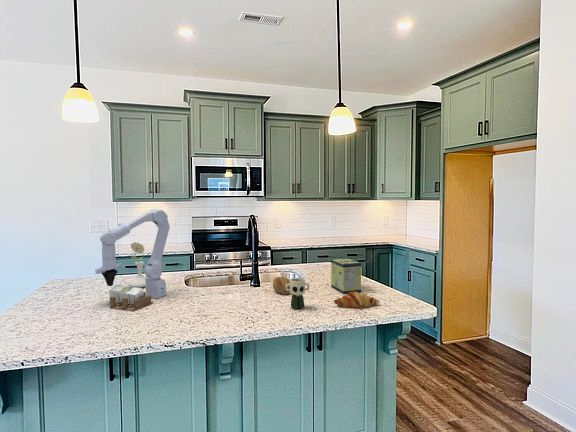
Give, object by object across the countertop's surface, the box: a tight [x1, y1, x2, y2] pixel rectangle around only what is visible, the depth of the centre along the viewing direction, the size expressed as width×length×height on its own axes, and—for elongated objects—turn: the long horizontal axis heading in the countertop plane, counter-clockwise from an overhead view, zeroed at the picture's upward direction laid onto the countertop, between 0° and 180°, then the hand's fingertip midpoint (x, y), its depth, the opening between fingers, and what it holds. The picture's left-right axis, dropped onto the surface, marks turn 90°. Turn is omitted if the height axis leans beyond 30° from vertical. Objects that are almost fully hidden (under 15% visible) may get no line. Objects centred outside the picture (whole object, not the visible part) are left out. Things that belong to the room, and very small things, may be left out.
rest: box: [109, 291, 154, 312], centre depth 175 cm, size 13×13×5 cm
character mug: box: [286, 277, 310, 310], centre depth 170 cm, size 11×7×13 cm, turn 97°
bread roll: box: [271, 276, 291, 295], centre depth 197 cm, size 10×15×8 cm, turn 18°
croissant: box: [333, 292, 380, 309], centre depth 173 cm, size 21×10×8 cm, turn 96°
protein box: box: [330, 258, 362, 295], centre depth 201 cm, size 10×16×16 cm
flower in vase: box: [128, 241, 146, 288], centre depth 209 cm, size 13×11×25 cm
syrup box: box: [108, 284, 145, 305], centre depth 176 cm, size 6×6×14 cm
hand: (110, 285), depth 178 cm, fingers closed
